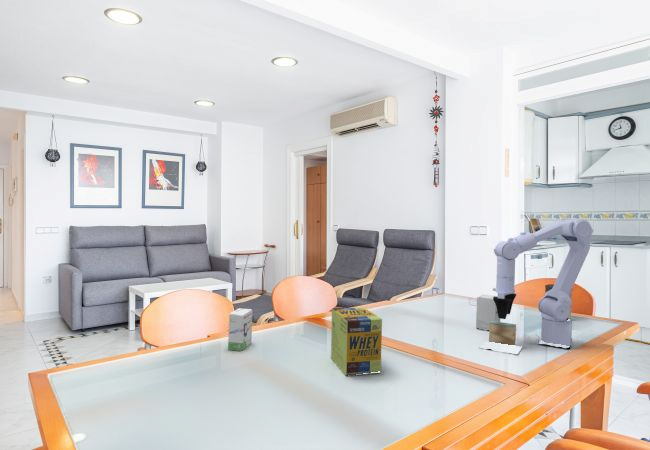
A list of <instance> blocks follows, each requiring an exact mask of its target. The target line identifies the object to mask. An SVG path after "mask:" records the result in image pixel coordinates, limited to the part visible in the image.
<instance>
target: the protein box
mask: <svg viewBox="0 0 650 450" xmlns="http://www.w3.org/2000/svg"><path fill="white" fill-rule="evenodd" d="M382 330H383V319H382V318H381V317H380V316H379V315H376V314H375V313H374V312H372V311H370V310H368V309H367V308H365V307H334V308H331V334H330V337H331V339H330V342H331V343H330V348H331V349H330V359H331V360H333V363H334V364H335V365H336V366H337V367H338V368H339V369H340V371H341V370H342V371H341V372H342V373H343V375H346V376H345V377H349V376H348V375H355V376H357V375H356V374H363V373H371V372H378V371H381V372H382V337H383V335H382V334H383V333H382V332H383V331H382Z"/></svg>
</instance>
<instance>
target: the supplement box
mask: <svg viewBox="0 0 650 450" xmlns="http://www.w3.org/2000/svg"><path fill="white" fill-rule="evenodd" d="M494 296H495V297H498V295H490V294H481V295H479V296H477V297H476V313H475V314H476V315H475V318H476V319H475V329H476V328H479V329H478V330H480V329H485V330H489V324H490V322H491V321H496V322H501V319H500V318H499V317H498V312H497V307H496V304H495V302H494V300H493V297H494ZM485 330H484V331H485Z"/></svg>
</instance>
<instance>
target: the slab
mask: <svg viewBox="0 0 650 450" xmlns="http://www.w3.org/2000/svg"><path fill="white" fill-rule="evenodd" d="M516 335H517V324H514V323H509V322H501V321H500V322H496V321H491V322H490V324H489V331H488V340H489V342H495V343H501V344H508V345H516V340H517V336H516Z"/></svg>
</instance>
